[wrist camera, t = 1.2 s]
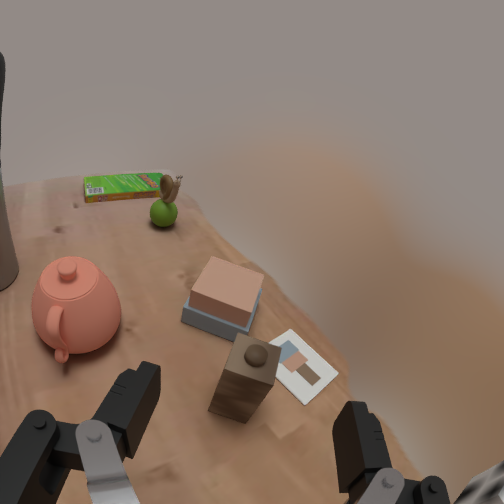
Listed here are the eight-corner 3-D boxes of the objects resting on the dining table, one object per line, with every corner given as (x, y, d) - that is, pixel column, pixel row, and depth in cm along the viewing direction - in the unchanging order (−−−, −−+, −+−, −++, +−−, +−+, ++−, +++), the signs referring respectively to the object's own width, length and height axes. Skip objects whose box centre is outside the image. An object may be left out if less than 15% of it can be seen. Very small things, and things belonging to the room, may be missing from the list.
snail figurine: (159, 237, 53) (166, 178, 46) (144, 220, 56) (150, 164, 49) (183, 231, 56) (193, 174, 50) (167, 215, 59) (175, 161, 53)
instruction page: (252, 353, 38) (252, 352, 38) (290, 329, 43) (290, 328, 43) (304, 405, 33) (305, 404, 33) (338, 374, 38) (339, 372, 38)
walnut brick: (207, 410, 29) (226, 363, 23) (219, 380, 33) (239, 327, 27) (245, 423, 29) (276, 380, 23) (254, 392, 33) (284, 342, 27)
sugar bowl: (129, 298, 39) (128, 240, 34) (112, 384, 28) (100, 332, 23) (54, 285, 36) (43, 228, 31) (23, 362, 25) (-6, 307, 19)
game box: (84, 188, 62) (161, 179, 72) (86, 208, 56) (172, 197, 66) (83, 176, 60) (162, 168, 71) (85, 195, 54) (173, 185, 65)
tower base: (181, 321, 39) (185, 290, 36) (203, 282, 46) (210, 252, 43) (242, 345, 39) (254, 316, 35) (256, 302, 46) (268, 274, 43)
